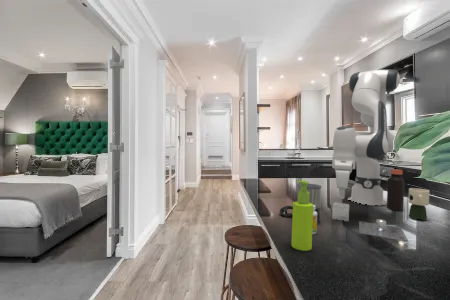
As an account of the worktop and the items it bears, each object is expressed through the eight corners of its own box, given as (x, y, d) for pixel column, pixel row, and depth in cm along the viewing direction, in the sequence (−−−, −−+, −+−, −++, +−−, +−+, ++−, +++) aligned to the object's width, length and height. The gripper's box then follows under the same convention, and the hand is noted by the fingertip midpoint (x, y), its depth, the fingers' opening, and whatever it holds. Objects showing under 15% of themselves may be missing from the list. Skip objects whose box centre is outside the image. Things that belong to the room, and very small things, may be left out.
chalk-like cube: (333, 215, 109) (333, 202, 109) (348, 217, 106) (349, 204, 106) (331, 218, 104) (332, 205, 104) (348, 221, 101) (349, 207, 101)
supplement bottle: (317, 231, 88) (319, 204, 88) (315, 235, 84) (316, 207, 83) (302, 228, 91) (303, 202, 91) (299, 232, 86) (300, 205, 86)
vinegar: (406, 211, 120) (408, 170, 119) (392, 210, 120) (394, 170, 119) (396, 207, 127) (398, 169, 126) (383, 207, 127) (385, 168, 126)
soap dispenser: (306, 241, 78) (308, 179, 78) (314, 251, 72) (317, 182, 71) (288, 241, 78) (290, 178, 78) (294, 250, 71) (297, 182, 71)
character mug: (405, 214, 114) (407, 186, 114) (425, 217, 110) (427, 188, 110) (409, 220, 105) (410, 190, 104) (430, 223, 101) (432, 192, 101)
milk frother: (322, 226, 94) (323, 187, 93) (279, 222, 97) (281, 185, 97) (316, 215, 108) (317, 182, 107) (279, 212, 111) (280, 179, 111)
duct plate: (359, 222, 100) (359, 212, 100) (400, 229, 93) (401, 218, 93) (359, 233, 88) (360, 221, 87) (407, 241, 81) (408, 229, 81)
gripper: (336, 163, 115) (335, 192, 115) (333, 164, 96) (332, 199, 96) (351, 163, 112) (350, 194, 112) (351, 165, 94) (350, 201, 94)
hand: (342, 196), depth 104 cm, fingers open, 8 cm apart
